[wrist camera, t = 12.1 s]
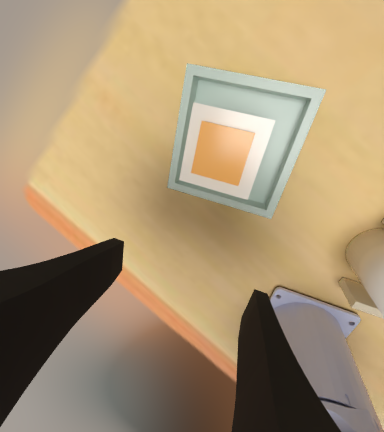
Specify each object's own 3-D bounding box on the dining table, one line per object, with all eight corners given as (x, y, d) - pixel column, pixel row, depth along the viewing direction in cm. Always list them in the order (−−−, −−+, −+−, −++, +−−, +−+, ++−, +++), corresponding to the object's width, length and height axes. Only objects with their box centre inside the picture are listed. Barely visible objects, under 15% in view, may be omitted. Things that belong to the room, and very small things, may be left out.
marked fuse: (251, 173, 17) (247, 202, 11) (206, 161, 18) (176, 181, 12) (268, 122, 16) (276, 120, 9) (217, 111, 16) (190, 101, 10)
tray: (269, 210, 19) (271, 219, 17) (175, 182, 20) (167, 187, 18) (318, 94, 15) (326, 89, 13) (194, 70, 16) (187, 63, 14)
